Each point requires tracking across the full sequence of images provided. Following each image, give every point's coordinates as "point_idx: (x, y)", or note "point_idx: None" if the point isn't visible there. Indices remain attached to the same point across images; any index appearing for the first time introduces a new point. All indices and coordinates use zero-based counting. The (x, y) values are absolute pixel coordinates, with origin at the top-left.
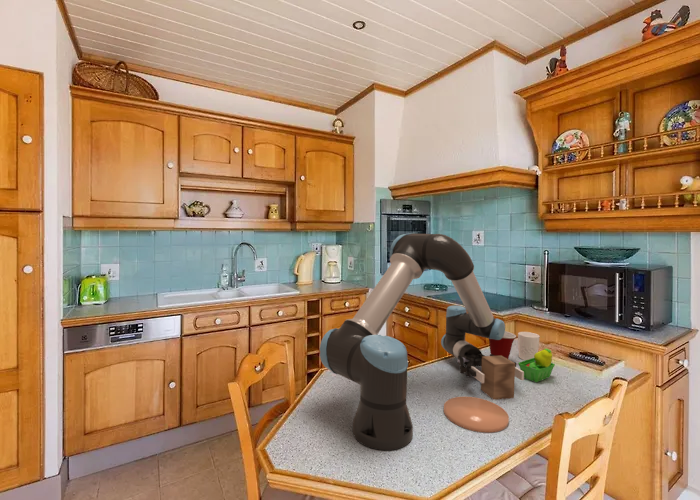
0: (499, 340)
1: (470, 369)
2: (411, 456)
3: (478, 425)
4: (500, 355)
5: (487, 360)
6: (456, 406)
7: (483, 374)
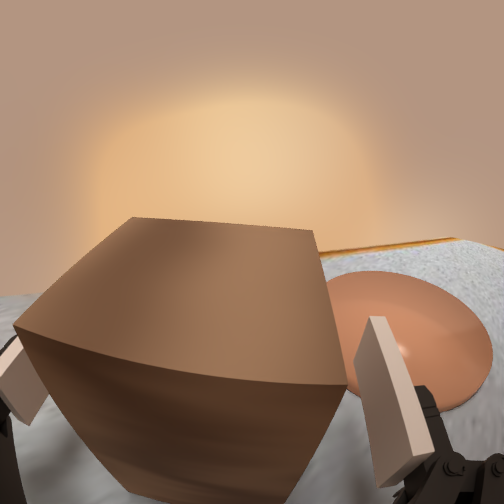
0: None
1: (434, 437)
2: (498, 269)
3: (412, 280)
4: (19, 327)
5: (326, 288)
6: (460, 344)
7: (376, 317)
